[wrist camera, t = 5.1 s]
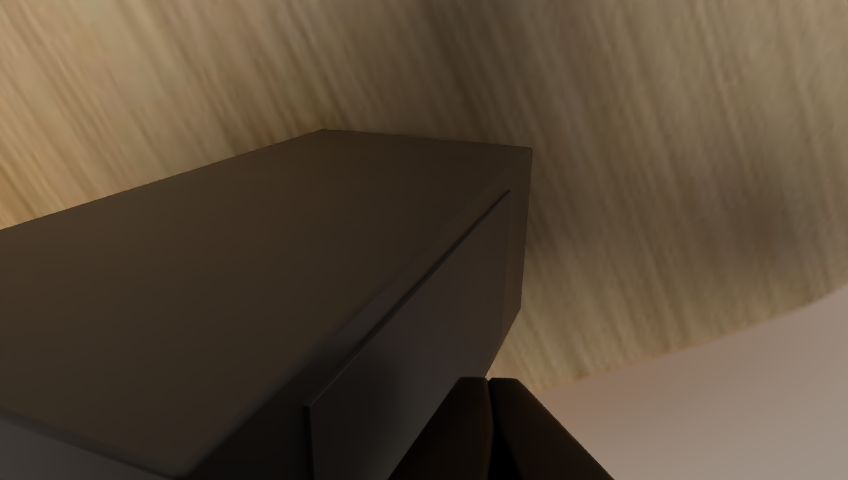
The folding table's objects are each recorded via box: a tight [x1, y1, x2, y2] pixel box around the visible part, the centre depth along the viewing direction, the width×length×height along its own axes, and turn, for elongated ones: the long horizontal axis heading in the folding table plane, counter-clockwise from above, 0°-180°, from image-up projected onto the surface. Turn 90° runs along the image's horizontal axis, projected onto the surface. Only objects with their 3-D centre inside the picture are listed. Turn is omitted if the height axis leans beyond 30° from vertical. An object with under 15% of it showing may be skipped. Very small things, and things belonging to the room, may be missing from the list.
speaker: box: [0, 129, 533, 480], centre depth 11 cm, size 6×4×12 cm
